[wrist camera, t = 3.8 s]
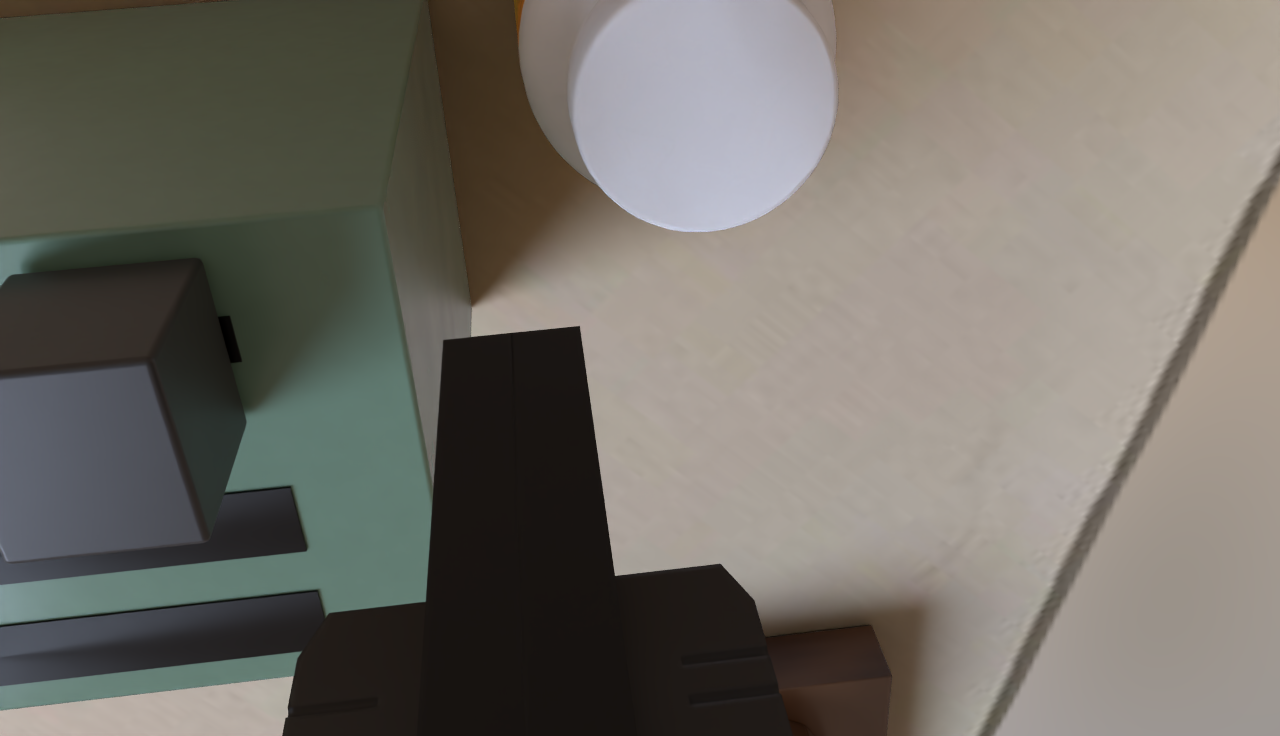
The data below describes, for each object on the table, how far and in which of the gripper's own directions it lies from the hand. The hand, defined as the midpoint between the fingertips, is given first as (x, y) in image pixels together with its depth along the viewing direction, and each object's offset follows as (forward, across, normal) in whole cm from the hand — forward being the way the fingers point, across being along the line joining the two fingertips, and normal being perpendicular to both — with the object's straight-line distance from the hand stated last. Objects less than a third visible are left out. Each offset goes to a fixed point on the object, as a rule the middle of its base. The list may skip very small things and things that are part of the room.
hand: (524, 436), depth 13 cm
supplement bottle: (+15, +3, +2) cm, 16 cm away
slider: (+3, -5, 0) cm, 6 cm away
